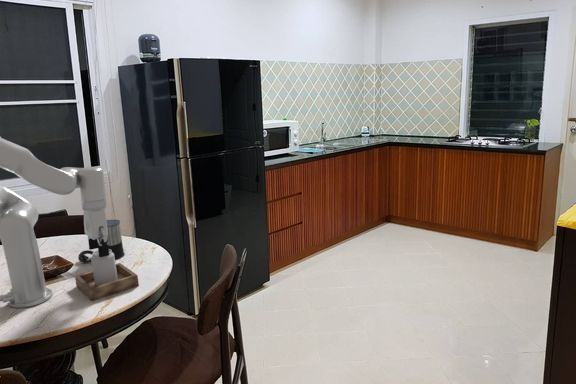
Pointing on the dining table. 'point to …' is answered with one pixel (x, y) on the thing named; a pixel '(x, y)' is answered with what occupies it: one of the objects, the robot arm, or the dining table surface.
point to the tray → (95, 292)
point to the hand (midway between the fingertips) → (99, 252)
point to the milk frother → (109, 242)
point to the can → (103, 268)
